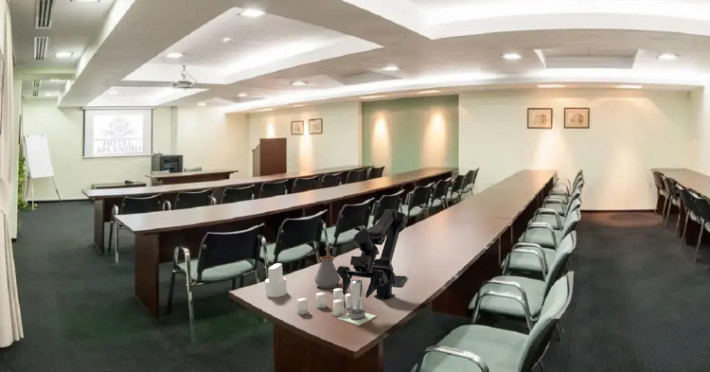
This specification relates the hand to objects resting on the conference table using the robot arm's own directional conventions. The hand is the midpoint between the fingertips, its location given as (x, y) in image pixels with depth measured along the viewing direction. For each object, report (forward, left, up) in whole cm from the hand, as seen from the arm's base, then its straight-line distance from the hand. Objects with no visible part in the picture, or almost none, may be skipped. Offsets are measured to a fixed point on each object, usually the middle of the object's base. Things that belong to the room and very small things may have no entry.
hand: (354, 295), depth 164 cm
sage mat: (-1, 0, -9) cm, 9 cm away
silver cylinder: (-1, 0, -8) cm, 8 cm away
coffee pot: (-27, -39, -9) cm, 49 cm away
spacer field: (-2, -14, -9) cm, 17 cm away
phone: (-46, -14, -9) cm, 49 cm away
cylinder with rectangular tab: (-2, -46, -9) cm, 47 cm away
